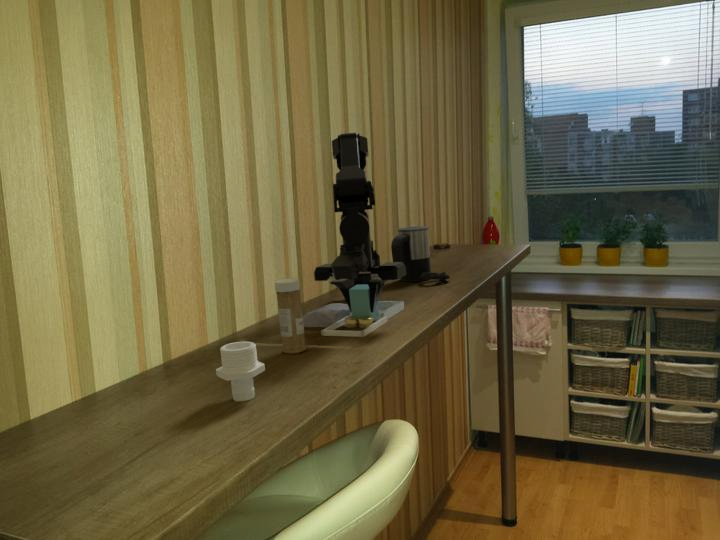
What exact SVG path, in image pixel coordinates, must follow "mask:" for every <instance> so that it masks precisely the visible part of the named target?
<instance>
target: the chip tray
mask: <svg viewBox="0 0 720 540" xmlns="http://www.w3.org/2000/svg"><path fill="white" fill-rule="evenodd" d="M346 317H349V316H346ZM346 317H345V318H346ZM345 318H343V319H341V320H339V321H338V322H336V323H334V324H332V325H330V326H329V327H324V329H321V330H320V334H321V336H325V337H327V336H328V337H360V338H363V337H366V336H367V335H369V334H370V333H372V332H373V331H375V330H376V329H378V328H380V327H381V326H382V325H385V323H387V322H388V319H387V317H383V318H381V319H380V320H378V321H374V322H373V324H372V325H370V326H369V327H367V328H363V329H362V330H339V329H338V328H339V327H341V326H344V325H345ZM336 329H338V330H336Z"/></svg>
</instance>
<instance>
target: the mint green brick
mask: <svg viewBox="0 0 720 540" xmlns="http://www.w3.org/2000/svg"><path fill="white" fill-rule="evenodd" d="M349 294H350V303H351V311H352V316H356V317H359V318H361V317H373V320H375V319H376V318H377V317H379V315H378V305H377V306H376V309H375V312H373V313H371V308H370V289H369V286H368V285H356V286H354V287H352V288H351V289H349Z"/></svg>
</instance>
